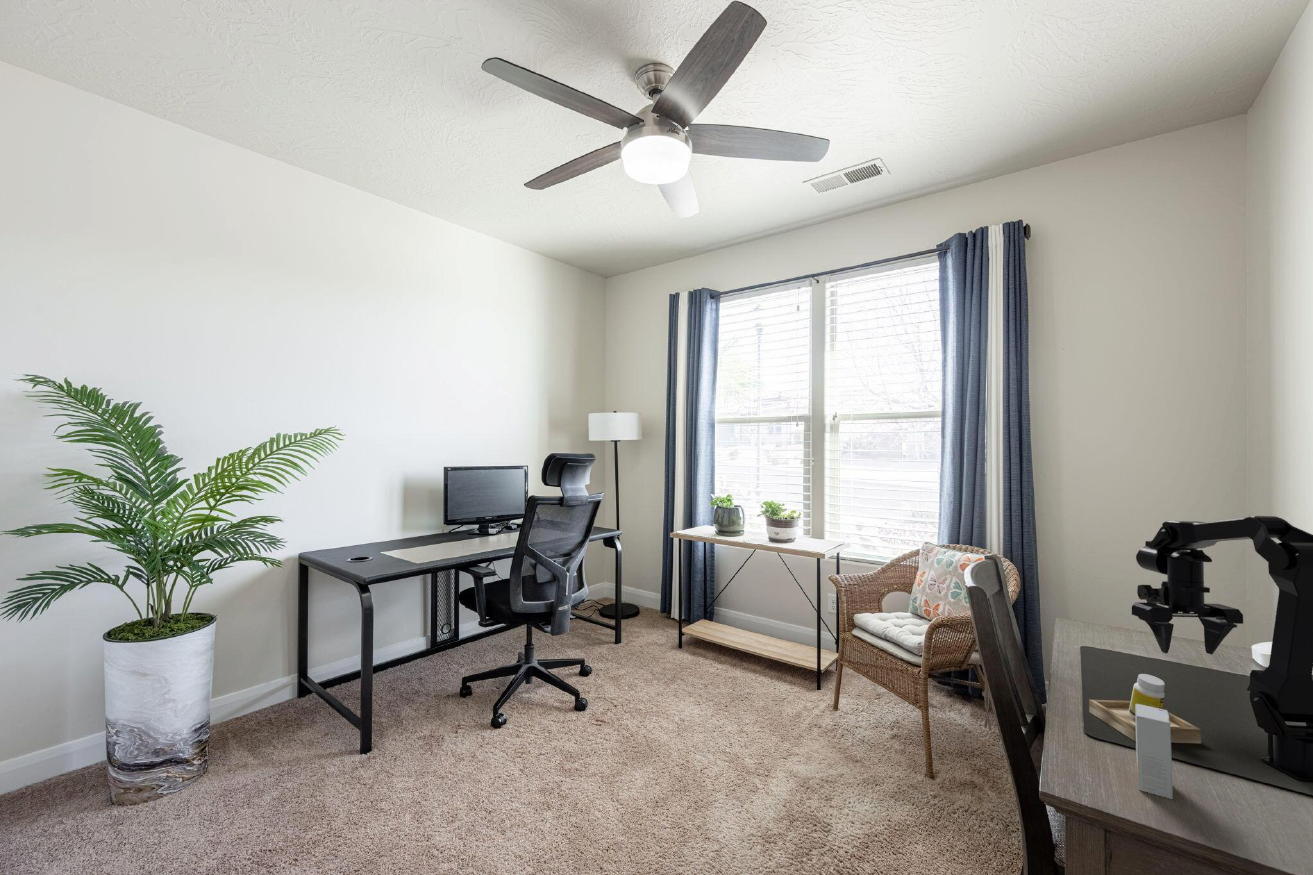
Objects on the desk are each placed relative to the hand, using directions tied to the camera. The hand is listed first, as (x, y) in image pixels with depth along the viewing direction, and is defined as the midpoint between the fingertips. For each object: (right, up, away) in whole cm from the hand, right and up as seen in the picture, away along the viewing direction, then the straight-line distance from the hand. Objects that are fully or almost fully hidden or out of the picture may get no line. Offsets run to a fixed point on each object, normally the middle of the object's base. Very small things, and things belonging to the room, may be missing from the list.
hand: (1186, 653), depth 119 cm
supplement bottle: (-16, -10, -8) cm, 21 cm away
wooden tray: (-16, -12, -8) cm, 22 cm away
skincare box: (-32, -11, -28) cm, 44 cm away
